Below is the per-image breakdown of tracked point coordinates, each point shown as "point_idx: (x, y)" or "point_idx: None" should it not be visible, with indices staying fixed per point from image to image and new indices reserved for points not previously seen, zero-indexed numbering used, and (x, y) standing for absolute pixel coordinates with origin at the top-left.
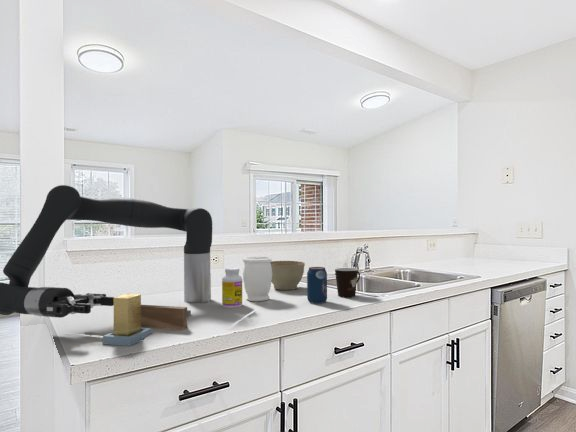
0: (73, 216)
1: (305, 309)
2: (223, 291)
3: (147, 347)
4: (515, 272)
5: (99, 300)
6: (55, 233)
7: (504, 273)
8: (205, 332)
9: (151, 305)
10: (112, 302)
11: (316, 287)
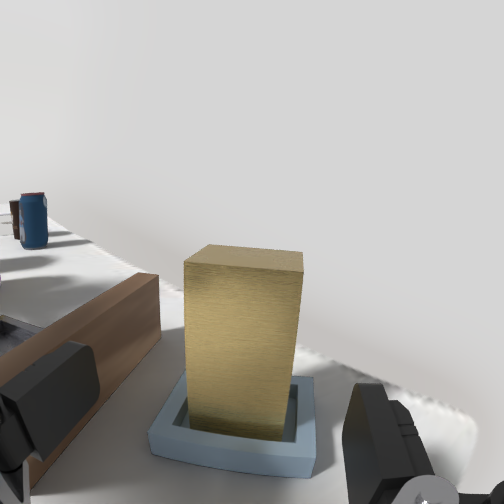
0: None
1: (67, 253)
2: None
3: (306, 365)
4: None
5: (11, 441)
6: None
7: None
8: (173, 313)
9: (68, 317)
10: (95, 376)
11: (44, 221)
